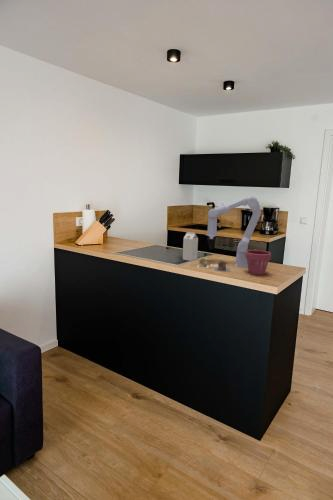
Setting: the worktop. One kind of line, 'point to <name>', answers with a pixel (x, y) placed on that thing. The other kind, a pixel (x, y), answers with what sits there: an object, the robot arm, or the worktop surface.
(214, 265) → the code tile
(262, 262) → the plant pot
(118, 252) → the worktop surface
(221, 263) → the walnut block
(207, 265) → the code tile
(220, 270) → the slate coaster
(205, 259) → the oak block
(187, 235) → the milk carton
